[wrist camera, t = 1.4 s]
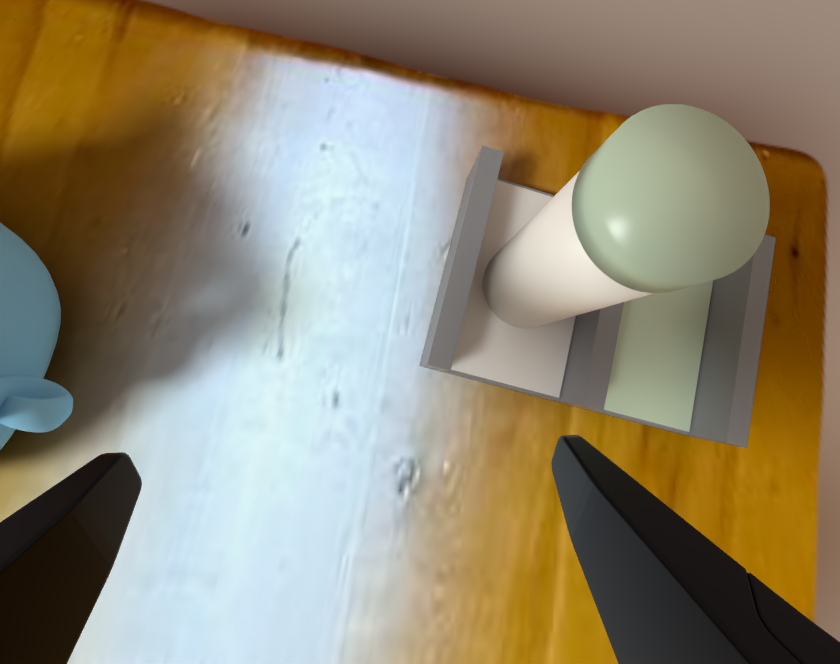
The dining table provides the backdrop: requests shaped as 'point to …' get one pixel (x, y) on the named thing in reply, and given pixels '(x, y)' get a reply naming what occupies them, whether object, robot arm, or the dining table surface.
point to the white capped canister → (636, 220)
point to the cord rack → (602, 331)
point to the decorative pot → (27, 342)
